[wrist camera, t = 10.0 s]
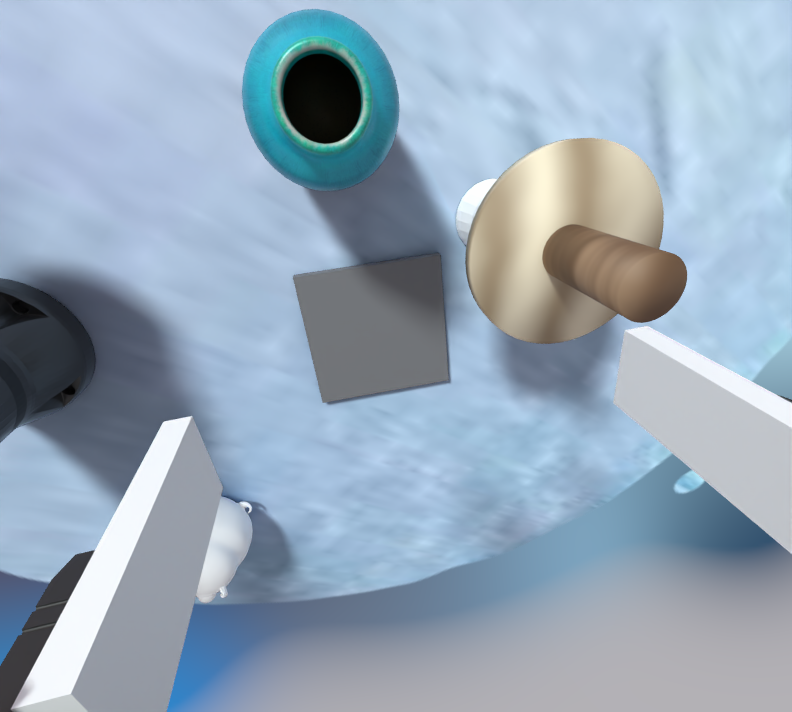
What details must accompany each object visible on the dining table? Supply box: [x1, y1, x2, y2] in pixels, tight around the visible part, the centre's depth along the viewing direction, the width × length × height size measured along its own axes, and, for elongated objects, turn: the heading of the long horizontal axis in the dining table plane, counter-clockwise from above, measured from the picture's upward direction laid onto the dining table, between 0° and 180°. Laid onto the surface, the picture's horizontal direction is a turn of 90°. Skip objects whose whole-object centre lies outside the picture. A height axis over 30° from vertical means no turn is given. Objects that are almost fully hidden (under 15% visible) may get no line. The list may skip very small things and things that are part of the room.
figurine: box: [196, 496, 253, 603], centre depth 52 cm, size 10×10×12 cm
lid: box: [465, 138, 687, 344], centre depth 27 cm, size 15×15×10 cm
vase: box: [242, 9, 399, 191], centre depth 30 cm, size 11×11×19 cm
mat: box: [293, 253, 449, 403], centre depth 48 cm, size 16×16×1 cm
